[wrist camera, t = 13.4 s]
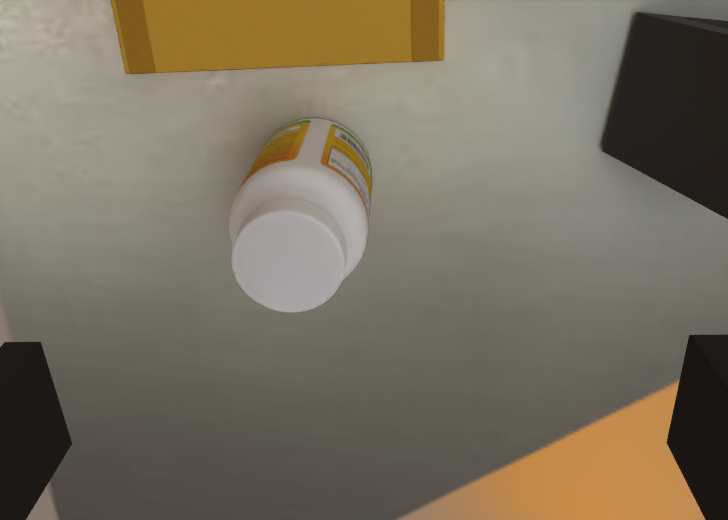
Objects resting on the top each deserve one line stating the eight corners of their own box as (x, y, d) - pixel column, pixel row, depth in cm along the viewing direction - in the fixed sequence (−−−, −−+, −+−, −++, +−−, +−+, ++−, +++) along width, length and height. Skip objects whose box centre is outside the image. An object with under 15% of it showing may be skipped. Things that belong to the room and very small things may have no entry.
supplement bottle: (253, 213, 33) (204, 317, 25) (265, 106, 31) (215, 179, 22) (362, 232, 34) (351, 342, 25) (382, 127, 31) (377, 207, 22)
